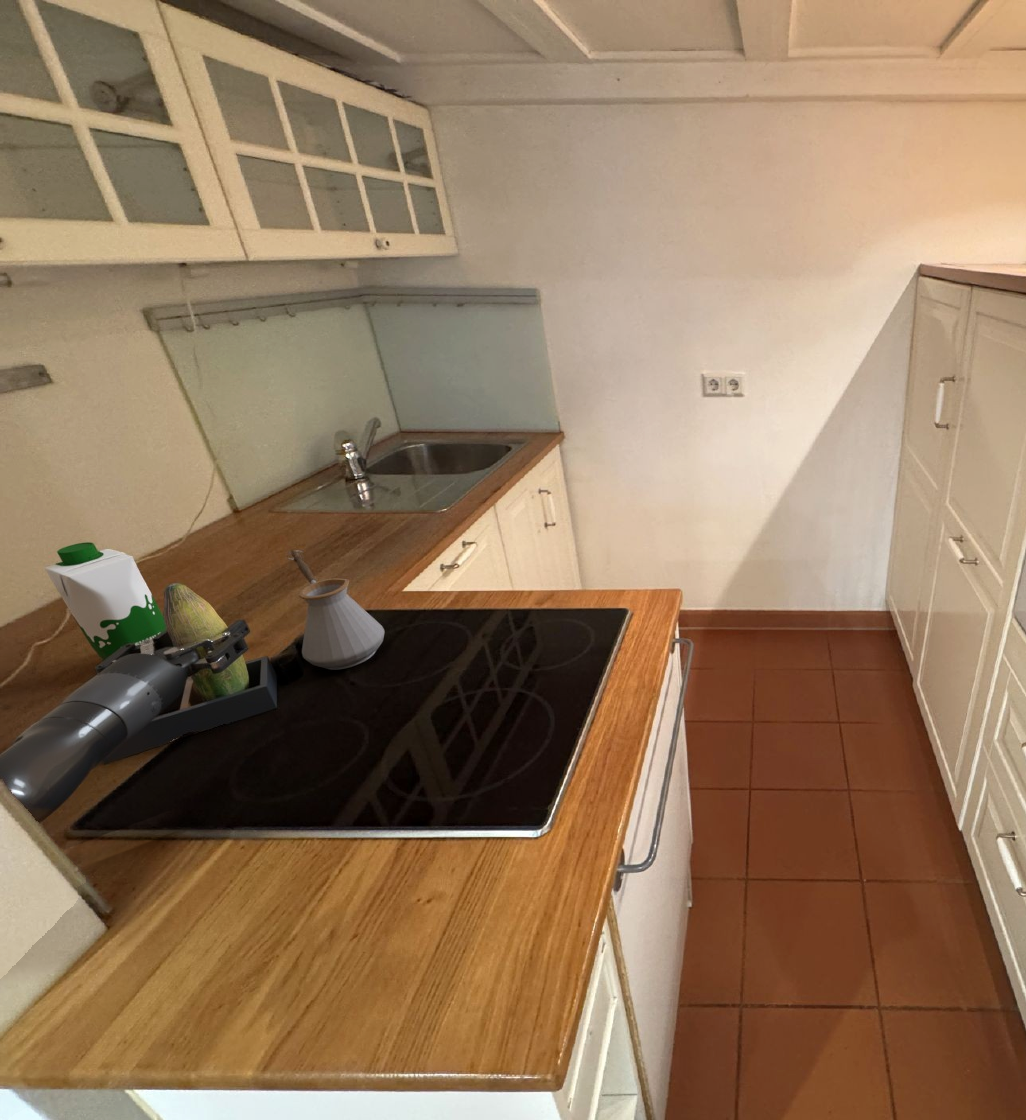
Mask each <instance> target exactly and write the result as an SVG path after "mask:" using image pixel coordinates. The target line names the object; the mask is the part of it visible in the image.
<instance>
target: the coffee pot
mask: <svg viewBox="0 0 1026 1120" xmlns="http://www.w3.org/2000/svg"><path fill="white" fill-rule="evenodd" d="M299 552H300V553H301V555H299ZM289 555H291V556H292V557H293V558H290V557H289ZM303 555H304V553H303V551H302V550H295V549H291V550H290V552H288V553H287V554H286V558H287V559H288V560H289V561H290V560H291V561H294V563H296V564H297V567H298V569H299V571H300V572H301V573H302V575H303V576H304V577H305V578H306V580H307V581H308V582H309V584H308V585H306V586H305V587H303V588H302V589H300V590H299V593H298V596H299V598H301V599H302V600H304V601H306V603H307V607H308V608H307V612H306V620H305V626H304V632H303V633H304V634H303V641H302V646H301V647H302V648H301V654H302V658H303V659H304V660H305V661H307V663H310V664H311V665H312V666H316V667H320V668H324V669H326V670H337V671H338V670H344V669H349V668H352V667H355V666H357V665H360V664H362V663H364V662H366V661H367V660H369V659H371V658H372V657H373V656H374V655H375V654H376V652H377V650H378V649H379V648H380V646H381V645H382V644H383V642H384V637H385V631H386V630H385V629H384V627H383V625H381V623H379V622H378V621H377V620H376V619H375V618H374V617H373V616H372V615H371V614H370V613H368V612H367V611H366V610H365V609H364V608H363V606H361V605H360V604H359V603H357V602H356V601H355V600H354V599H353V598H352V597H351V596H350V595H349V594H347V592H348V587H349V584H350V580H349V579H347V578H341V577H340V578H335V577H334V578H327V579H323V580H318V581H317V580H316V578H315V576H314V574H313V572H312V571H311V569H310V567H309V565H308V564H307V563H306V562H305V561H304V560H303V557H302V556H303Z"/></svg>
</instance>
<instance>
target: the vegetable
mask: <svg viewBox="0 0 1026 1120" xmlns="http://www.w3.org/2000/svg"><path fill="white" fill-rule="evenodd" d="M162 615H163V617H164V622H165V625H166V629H167V631H168V633H169V635H170V638H171V640H172V643H173V645H174V647H179V646H183V645H186V644H188V643H191V642H193V641H196V640H198V639H200V638H206V639H210V638H212V637H214V636H217V635H219V634H222V632H223V631H225V630H226V629H227V628H228V627H229V626H227V624H226V622H225V621H224V620H223V619H222V618H221V617H220V615H219V614H218V613H217V611H216V610H215V608H213V606H212V605H211V604H210V603H209V602H208V601H207V600H205V599H204V598H203V597H201V596H200V595H198V594H197V593H195V592H194V591H193V590H192V589H191V588H190V587H188V586H187V585H186V584H184V583H181V582H179V583H178V582H176V583H171V584H169V585H167V586H166V587H165V589H164V591H163V610H162ZM220 644H222V641H220V642H218V643H216V644H214V645H213V647H214V649H215V648H217V647H218V646H219V645H220ZM196 649H197V651H198V653H199V655H200V658H201V659H204V658H205V656H206V653H205V651H204V649H203V647H202V646H200V647H198V648H196ZM245 662H246V661H245V658H244V654H243V655H241V656H240V657H239V658H238V659H237V660H236V661H234V662H233V663H232V664H231V665H230V666H228V667H227V668H226V669H225V670H224V671H222V672H220V673H217V674H213V673H212V671H211V669H201V670H200V671H199V672H197V673H195V674H193V675H191V676H190V677H189V678H192V680H193V682H194V684H195V686H196V687H197V689H198V690H199V691H200V693H201V694H202V696H203V697H204V698H205V699H206V702H207V701H211V700H214V699H217V698H221V697H224V696H227V695H230V694H234V693H237V692H240V691H243V690H247V689H250V687H249V676H248V671H247V667H246V664H245Z"/></svg>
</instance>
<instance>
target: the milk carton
mask: <svg viewBox="0 0 1026 1120" xmlns="http://www.w3.org/2000/svg"><path fill="white" fill-rule="evenodd" d="M56 553H57V555H58V556H59V557H58V558H60V560H61V561H60V562H57V563H55V564H52V565H49V566H46V567H44V569H45V571H46V573H47V574H48V576H49V578H50V580H51V581H52V583H53V585H54V586H55V588H56V590H57V592H58V593H59V595H60V597H61V599H62V600H63V602H64V604H65V605H66V607H67V609H68V611H69V612H70V614H71V615H72V617H73V618H74V620H75V623H77V625H78V627H79V629H80V630H81V632H82V634H83V635H84V637H85V638H86V640H87V642H88V643H89V645H90V646H91V647H92V649H93V650H94V651H95V652H96V654H97V655H98V656H99V657H100V658H101V660H102V662H103V661H104V660H105V659H107V658H108V657H109V656H111V655H112V654H113V653H114V652H116V651H117V650H118V649H120V648H121V647H122V646H124V645H126V644H129V643H134V644H135V646H136V645H141V642H143V641H145V640H148V639H153V638H154V637H156V636H157V635H158V634H160V633H161V632H163V631H164V630H165V629H166V625H165V622H164V617H163V612H162V611H161V609H160V608H159V605H158V604H157V602H156V600H155V598H154V596H153V594H152V592H151V590H150V588H149V587H148V584H147V583H146V581H145V579H144V577H143V576H142V574H141V571H140V570H139V568H138V565H137V563H136V561H135V559H134V556H132V555H129V554H127V553H126V552H122V551H118V550H115V549H111V548H104V549H101V550H98V548H97V547H96V545H95V543H94V542H91V541H88V542H87V541H86V542H79V543H74V544H70V545H67V546H64V547H61V548H60V549H58V550H57V551H56ZM173 647H174V646H173Z"/></svg>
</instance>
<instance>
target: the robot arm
mask: <svg viewBox="0 0 1026 1120" xmlns="http://www.w3.org/2000/svg"><path fill="white" fill-rule="evenodd" d="M227 627H228V628H227V629H226V630H225V631H223V632H222V634H219V635H217V636H214V637H212V638H210V639H206V638H200V639H198V640H196V641H193V642H191V643H188V644H186V645H183V646H179V647H173V646H174V645H173V643H172V640H171V638H170V635H169V633H168V631H167V629H165V630H164V631H163V632H161V633H160V634H158V635H157V636H156V637H154V638H153V639H148V640H145V641H143V642H141V645H136V646H135V644H134V643H129V644H126V645H124V646H122V647H121V648H120V649H118V650H117V651H116V652H114V653H113V654H112V655H111V656H109V657H108V658H107V659H105V660H104V661H103V660H102V661H101V662H100V663H99V664H97V665H96V666H95V667H94V670H95V672H96V674H95V675H94V676H92V677H91V678H90V679H89V680H87V681H86V682H85V683H83V684H82V685H80V686H79V687H78V688H76V689H75V690H73V692H71V693H69V695H67V697H66V698H64V700H63V701H62V702H61V703H59V704H58V705H57V706H56V707H55V708H53V709H52V710H51V711H49V712H48V713H46V714H45V715H44V716H42V717H41V718H40V719H38V720H36V722H34V723H33V724H31V725H30V726H28V727H27V728H26V729H25V730H24V731H23V732H21V733H20V734H19V735H18V736H17V737H16V738H15V739H14V741H13V742H12V743H11V746H10V747H8V748H7V749H6V750H4V751H3V752H2V753H0V779H3V781H4V783H5V785H6V786H8V789H9V790H11V792H12V794H14V795H15V796H16V798H17V799H18V800H19V801H20V802H21V803H22V804H23V805H24V807H25V808H26V809H28V811H29V812H30V813H31V814H32V816H33V817H34V818H35V820H36V821H38V822H39V824H41V823H42V822H44V820H47V818H48V817H49V816H51V815H52V814H53V813H54V812H55V811H57V810H58V809H59V808H60V807H61V806H62V805H63V804H64V803H65V802H66V801H67V800H69V798H70V797H71V796H72V795H73V794H74V792H76V790H77V789H78V788H79V787H80V785H81V784H82V783H83V782H84V780H85V779H86V778H87V777H88V775H89V774H90V772H91V771H92V770H93V769H95V768H96V767H97V766H99V765H100V764H101V763H103V762H102V761H103V760H104V759H105V758H107V757H108V756H109V755H110V754H111V753H112V752H113V751H114V750H116V749H117V748H118V747H119V746H120V745H121V744H122V743H124V742H125V741H126V740H128V739H129V738H131V737H132V736H134V735H135V734H137V733H138V732H139V731H140V730H142V729H143V728H144V727H145V726H146V725H147V724H148V723H149V722H151V721H152V720H153V719H154V718H155V717H158V716H159V715H158V714H160V713H161V712H162V711H163V710H164V709H165V708H166V707H167V706H169V705H170V704H171V703H172V702H173V701H174V700H175V699H176V698H177V697H179V696H180V694H181V693H182V691H183V689H184V686H185V682H186V680H187V679H188V678H191V677H190V676H191V675H193V674H195V673H197V672H199V671H200V670H201V669H211V671H212V673H213V674H217V673H220V672H222V671H224V670H225V669H226V668H227V667H228V666H230V665H231V664H232V663H233V662H234V661H236V660H237V659H238V658H239V657H240V656H241V655H243V656H244V654H245V653H246V652H247V651H249V650H250V648H249V646H248V644H247V641H246V639H245V637H247V636H248V635H250V633H251V629H250V627H249V625H248V623H247V622H246V620H245V619H236V620H235V621H234V622H233V623H231V624H230V625H229V626H227ZM220 641H222V644H220V645H219V646H218V647H217V648H215V649H214V647H213V645H214V644H216V643H218V642H220ZM200 646H202V647H203V649H204V651H205V653H206V656H205V658H204V659H201V658H200V655H199V653H198V651H197V649H196V648H198V647H200ZM160 715H161V714H160Z"/></svg>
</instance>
